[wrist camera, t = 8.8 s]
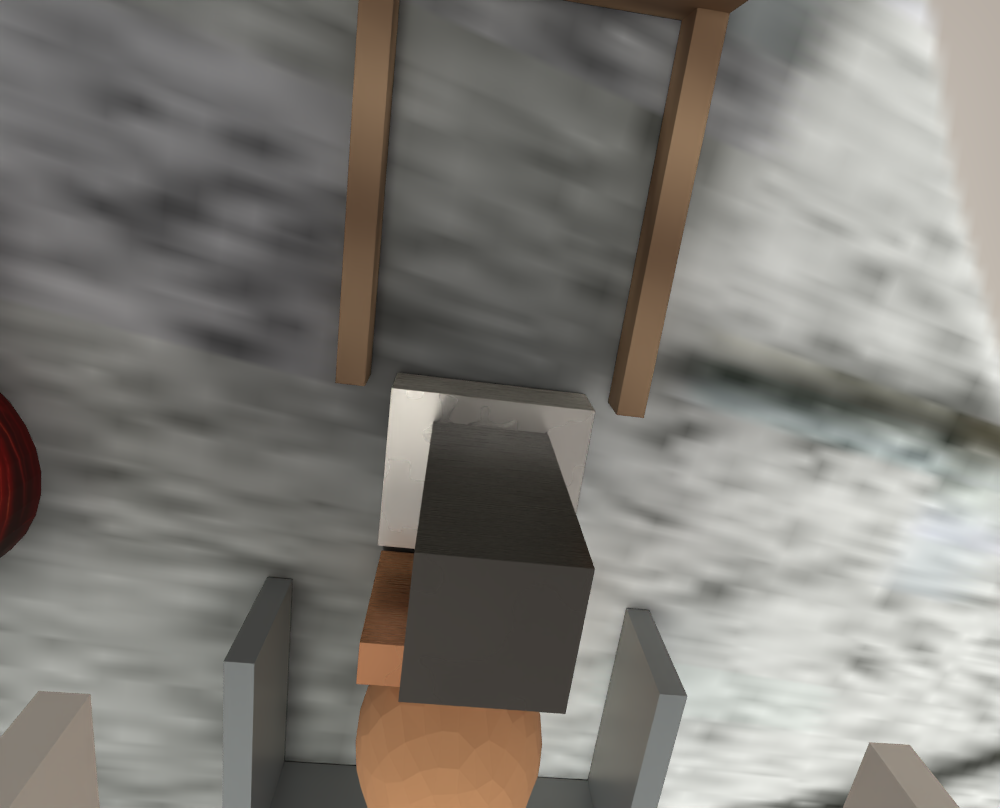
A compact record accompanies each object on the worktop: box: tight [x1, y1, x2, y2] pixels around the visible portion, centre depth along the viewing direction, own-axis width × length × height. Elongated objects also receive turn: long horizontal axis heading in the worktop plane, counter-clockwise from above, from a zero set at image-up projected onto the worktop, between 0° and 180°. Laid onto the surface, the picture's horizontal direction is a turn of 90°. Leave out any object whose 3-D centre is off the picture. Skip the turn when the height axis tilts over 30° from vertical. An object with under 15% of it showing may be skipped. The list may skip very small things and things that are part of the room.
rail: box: [335, 0, 748, 418], centre depth 21 cm, size 14×11×3 cm
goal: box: [222, 577, 687, 808], centre depth 26 cm, size 10×16×5 cm, turn 82°
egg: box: [356, 685, 542, 808], centre depth 24 cm, size 7×7×9 cm
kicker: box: [356, 373, 595, 714], centre depth 20 cm, size 9×7×11 cm
